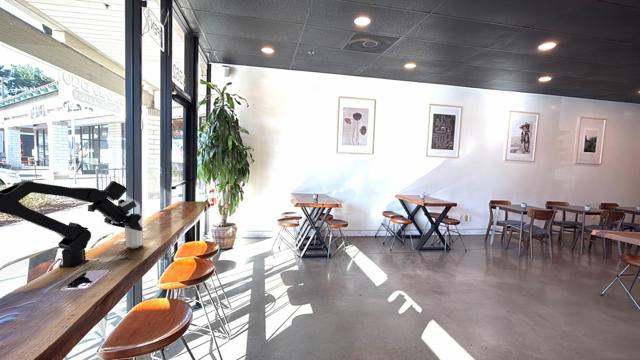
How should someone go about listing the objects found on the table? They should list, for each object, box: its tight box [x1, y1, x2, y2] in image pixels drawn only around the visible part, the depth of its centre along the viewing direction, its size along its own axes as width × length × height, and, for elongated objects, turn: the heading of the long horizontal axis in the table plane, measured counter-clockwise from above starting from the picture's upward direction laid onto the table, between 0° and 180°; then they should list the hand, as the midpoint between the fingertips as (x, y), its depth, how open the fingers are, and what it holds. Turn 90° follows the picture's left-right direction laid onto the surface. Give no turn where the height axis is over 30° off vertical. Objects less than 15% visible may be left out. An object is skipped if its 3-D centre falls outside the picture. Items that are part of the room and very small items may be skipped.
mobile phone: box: [60, 269, 110, 292], centre depth 97 cm, size 8×1×15 cm
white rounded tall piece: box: [124, 217, 144, 248], centre depth 131 cm, size 7×7×12 cm
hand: (137, 229), depth 132 cm, fingers closed on white rounded tall piece, 7 cm apart
